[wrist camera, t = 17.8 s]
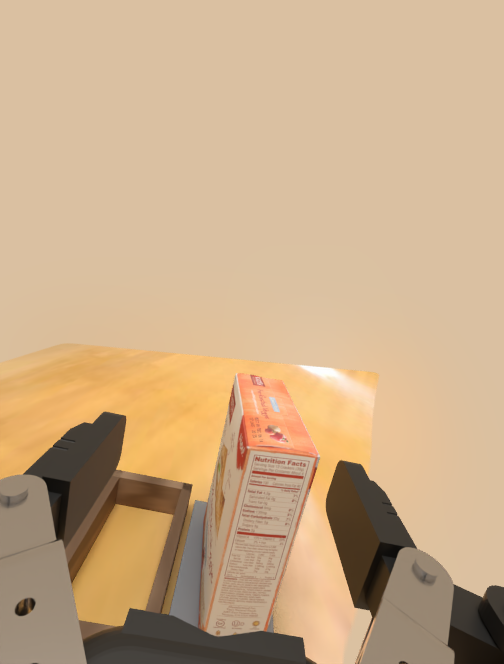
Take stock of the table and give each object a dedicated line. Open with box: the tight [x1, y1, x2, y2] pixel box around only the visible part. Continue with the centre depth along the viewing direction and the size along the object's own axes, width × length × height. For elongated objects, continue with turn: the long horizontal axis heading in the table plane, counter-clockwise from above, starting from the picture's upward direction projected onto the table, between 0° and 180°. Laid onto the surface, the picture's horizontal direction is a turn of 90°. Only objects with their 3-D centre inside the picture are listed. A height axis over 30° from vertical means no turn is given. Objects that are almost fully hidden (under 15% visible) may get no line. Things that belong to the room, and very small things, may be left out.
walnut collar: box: [65, 470, 192, 640], centre depth 34 cm, size 10×18×4 cm, turn 0°
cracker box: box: [198, 373, 320, 637], centre depth 32 cm, size 14×6×21 cm, turn 6°
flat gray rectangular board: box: [169, 500, 274, 633], centre depth 34 cm, size 10×20×1 cm, turn 0°
